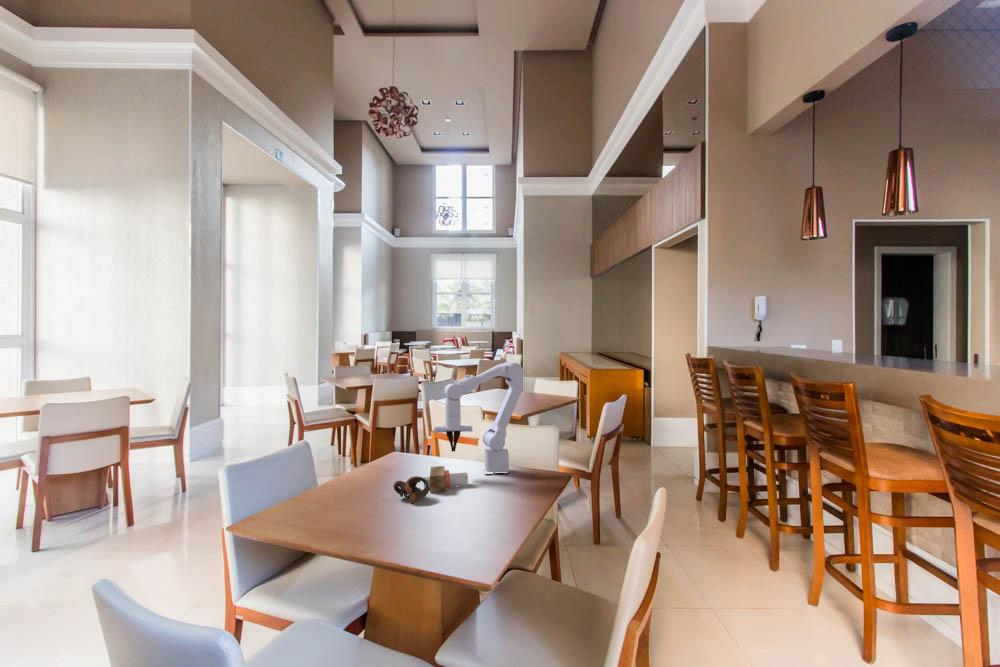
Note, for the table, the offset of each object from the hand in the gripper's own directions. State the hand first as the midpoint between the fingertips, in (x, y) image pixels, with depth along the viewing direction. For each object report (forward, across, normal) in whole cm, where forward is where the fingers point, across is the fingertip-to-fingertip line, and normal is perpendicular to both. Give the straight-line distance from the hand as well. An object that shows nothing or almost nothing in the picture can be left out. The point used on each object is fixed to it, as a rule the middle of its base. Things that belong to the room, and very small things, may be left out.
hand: (453, 450), depth 182 cm
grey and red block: (+10, +3, +11) cm, 15 cm away
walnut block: (+10, +6, +12) cm, 17 cm away
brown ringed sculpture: (+10, +14, +23) cm, 29 cm away
